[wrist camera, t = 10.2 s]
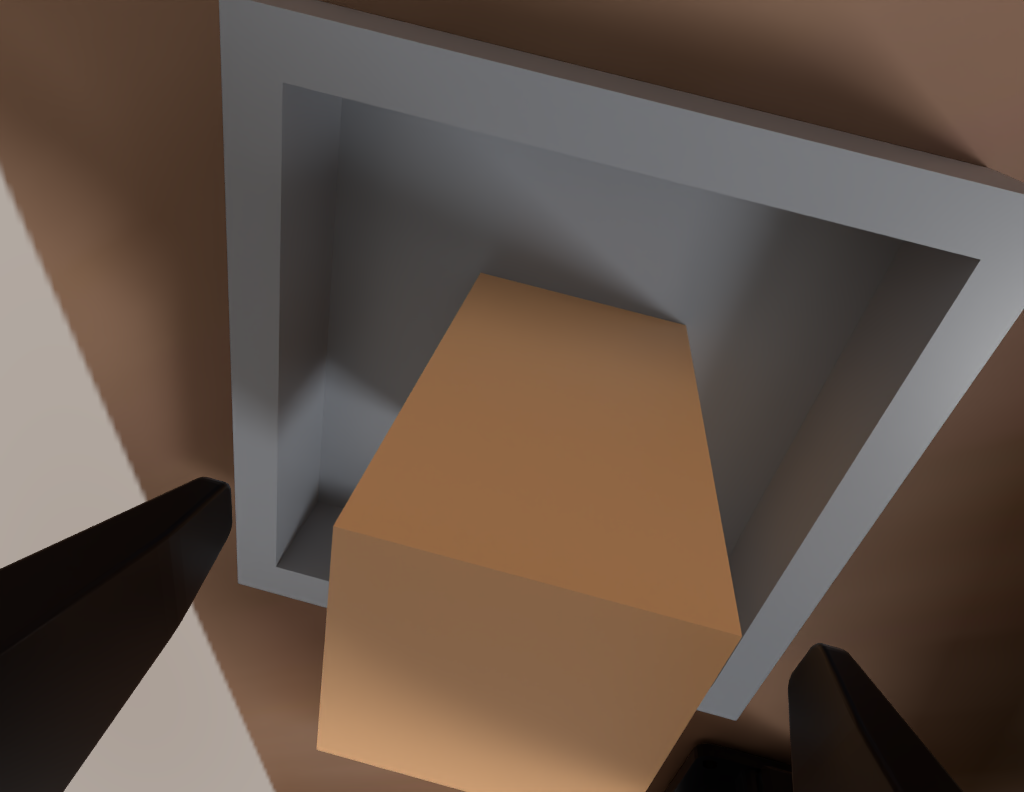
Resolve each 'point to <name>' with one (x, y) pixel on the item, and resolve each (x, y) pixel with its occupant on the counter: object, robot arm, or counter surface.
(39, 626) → the robot arm
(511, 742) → the plain tan block
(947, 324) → the block holder
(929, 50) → the counter surface
